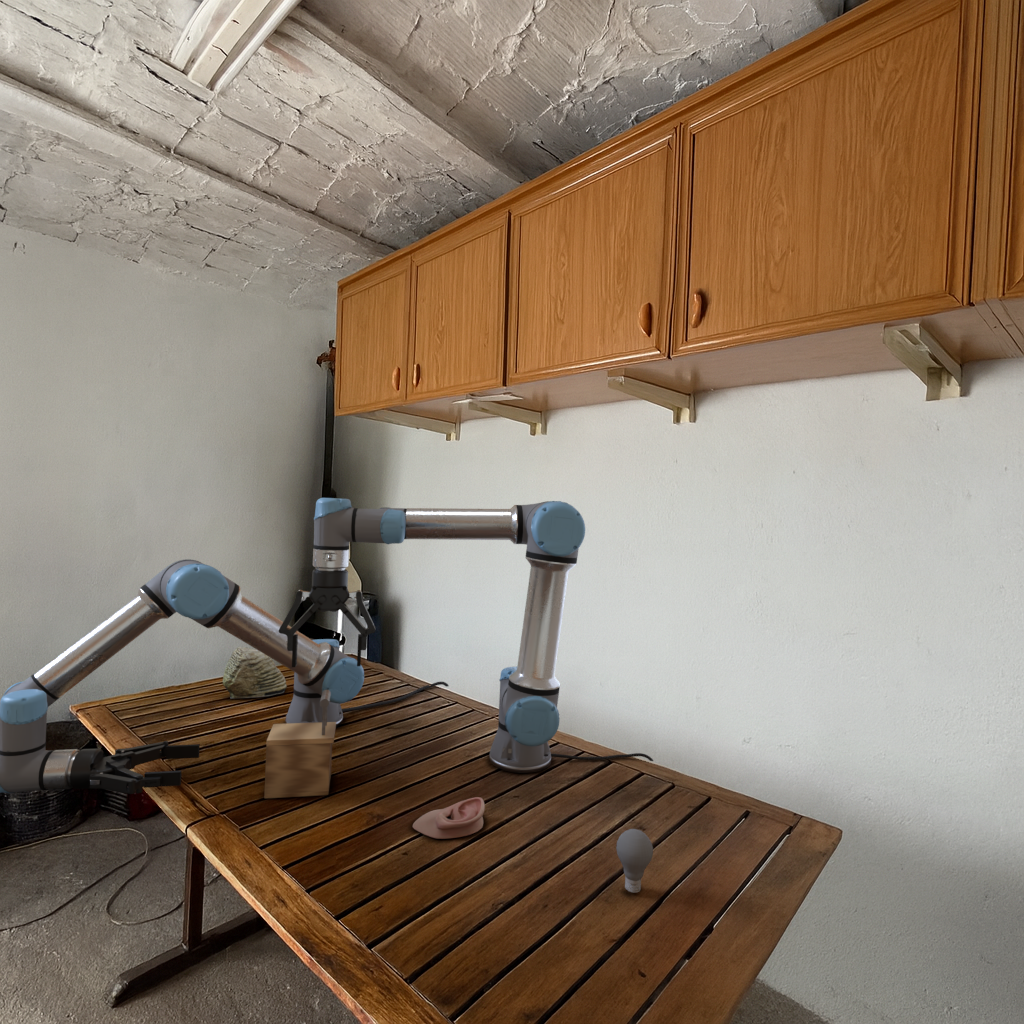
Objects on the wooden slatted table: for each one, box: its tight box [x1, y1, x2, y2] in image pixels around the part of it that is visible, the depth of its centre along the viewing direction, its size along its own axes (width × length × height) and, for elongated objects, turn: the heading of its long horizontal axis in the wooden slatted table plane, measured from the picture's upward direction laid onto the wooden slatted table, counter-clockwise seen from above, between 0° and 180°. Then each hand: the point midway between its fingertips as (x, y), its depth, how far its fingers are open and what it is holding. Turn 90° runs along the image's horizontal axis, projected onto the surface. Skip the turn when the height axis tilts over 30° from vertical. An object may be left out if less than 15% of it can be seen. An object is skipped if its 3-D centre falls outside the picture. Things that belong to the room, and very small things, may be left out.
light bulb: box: [615, 828, 654, 894], centre depth 106 cm, size 6×6×10 cm
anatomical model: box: [412, 796, 486, 840], centre depth 124 cm, size 13×4×12 cm
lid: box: [265, 690, 337, 747], centre depth 138 cm, size 14×10×9 cm
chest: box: [264, 743, 333, 799], centre depth 138 cm, size 13×10×11 cm
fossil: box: [222, 646, 288, 699], centre depth 198 cm, size 9×18×15 cm, turn 132°
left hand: (190, 763), depth 133 cm, fingers open, 13 cm apart
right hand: (326, 665), depth 139 cm, fingers open, 13 cm apart
